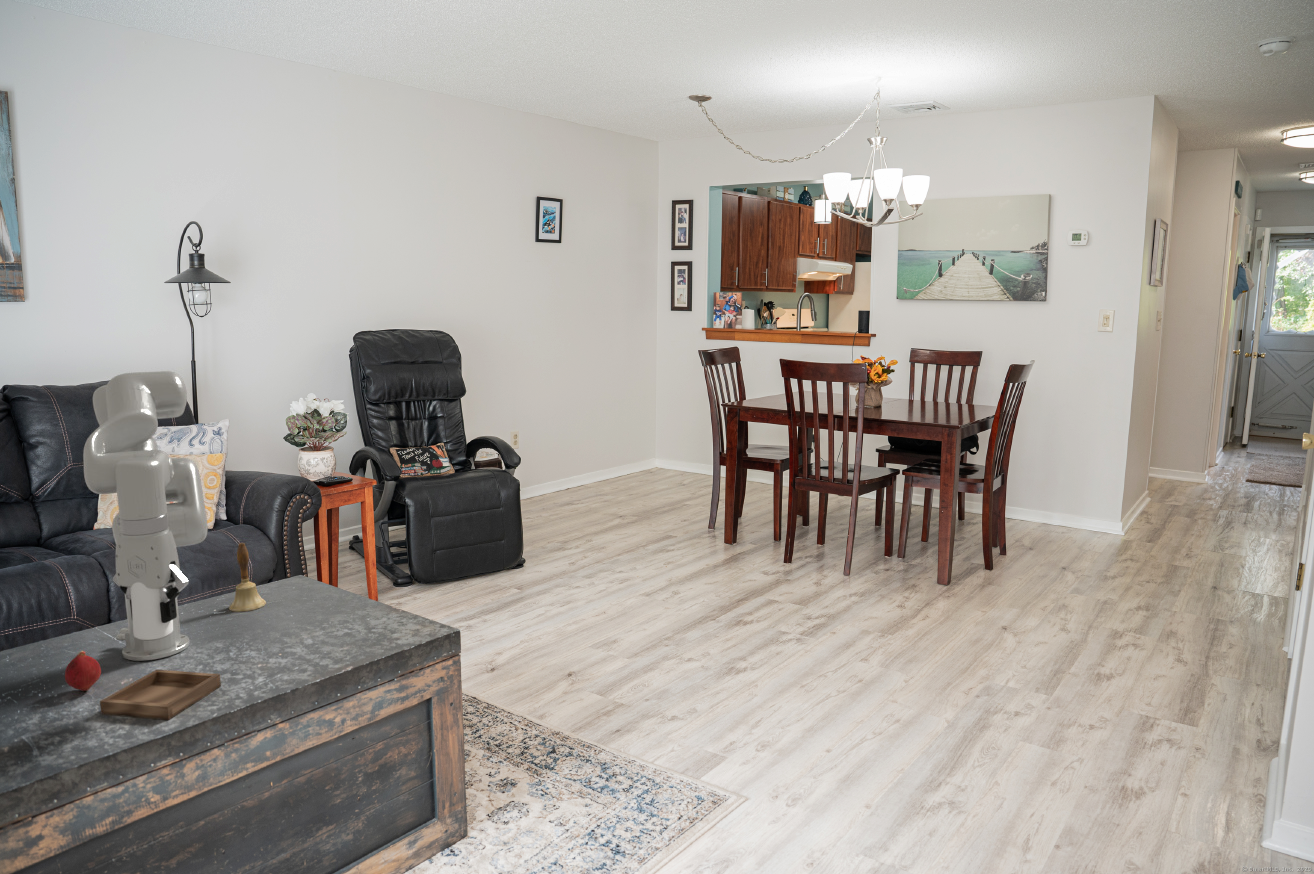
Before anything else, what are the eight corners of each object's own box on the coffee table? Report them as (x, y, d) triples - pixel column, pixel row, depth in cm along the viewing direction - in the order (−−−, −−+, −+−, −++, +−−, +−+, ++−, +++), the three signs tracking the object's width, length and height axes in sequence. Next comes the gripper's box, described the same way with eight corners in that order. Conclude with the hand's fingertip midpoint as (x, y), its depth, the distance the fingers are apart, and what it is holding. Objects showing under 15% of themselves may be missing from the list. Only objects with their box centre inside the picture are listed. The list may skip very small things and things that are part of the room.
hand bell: (221, 611, 213) (215, 547, 210) (242, 599, 221) (237, 538, 218) (252, 612, 211) (247, 548, 209) (273, 601, 219) (267, 539, 217)
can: (154, 643, 160) (150, 581, 158) (125, 638, 162) (121, 576, 159) (181, 630, 166) (178, 570, 164) (153, 624, 168) (150, 565, 165)
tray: (101, 713, 160) (99, 701, 159) (157, 681, 173) (156, 669, 173) (168, 719, 157) (167, 706, 157) (220, 686, 171) (219, 674, 170)
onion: (76, 699, 166) (71, 659, 164) (61, 693, 169) (56, 653, 167) (108, 688, 170) (104, 649, 169) (93, 681, 173) (88, 643, 172)
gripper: (87, 528, 158) (98, 623, 161) (171, 532, 155) (181, 629, 158) (119, 517, 165) (129, 609, 168) (200, 521, 162) (209, 614, 165)
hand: (154, 618), depth 163 cm, fingers closed on can, 5 cm apart
